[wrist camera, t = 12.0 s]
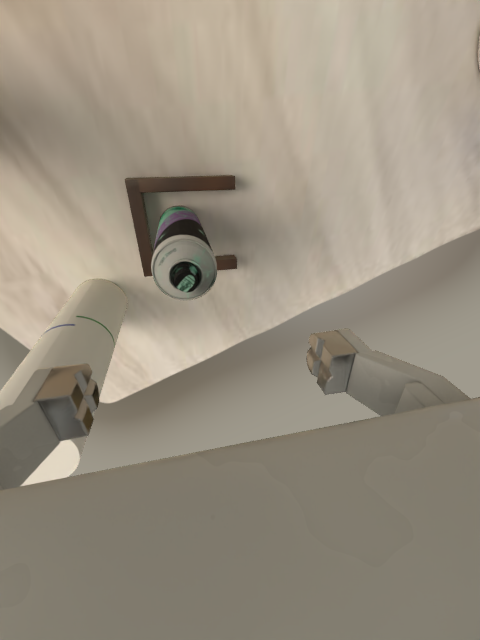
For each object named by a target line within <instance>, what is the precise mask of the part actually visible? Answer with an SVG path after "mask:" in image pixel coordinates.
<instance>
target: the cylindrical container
mask: <svg viewBox="0 0 480 640" xmlns="http://www.w3.org/2000/svg"><path fill="white" fill-rule="evenodd" d="M126 309H127V298H126V296H125V294H124V292H123V291H122V290H121V289H120V288H119V287H118V286H117V285H116V284H114V283H112V282H110V281H107V280H103V279H92V280H88V281H85V282H83V283H82V284H80V285H79V286H78V287H77V289H76V290H75V292H74V293H73V294H72V296H71V297H70V298H69V300H68V301H67V302H66V304H65V305H64V306H63V308H62V309H61V310H60V312H59V313H58V314H57V316H56V317H55V318H54V320H53V321H52V322H51V324H50V325H49V326H48V328H47V329H46V331H45V332H44V333H43V335H42V336H41V337H40V339H39V340H38V341H37V343H36V344H35V345H34V347H33V348H32V349H31V351H30V352H29V353H28V355H27V356H26V357H25V359H24V360H23V362H22V363H21V364H20V366H19V367H18V368H17V370H16V371H15V372H14V374H13V375H12V376H11V378H10V379H9V380H8V382H7V383H6V384H5V386H4V387H3V388H2V390H1V391H0V410H1V409H3V408H4V407H6V406H8V405H13V403H14V402H15V400H16V399H17V397H18V396H19V394H20V393H21V391H22V390H23V388H24V387H25V385H26V384H27V382H28V381H29V379H30V378H31V376H32V375H33V373H34V372H35V371H36V370H38V369H41V368H49V367H56V366H65V365H74V364H83V363H87V364H89V365H90V368H91V370H92V375H91V379H92V380H94V381H96V383H97V385H98V389H99V396H100V393H101V390H102V387H103V383H104V380H105V377H106V374H107V371H108V367H109V364H110V361H111V358H112V354H113V351H114V348H115V345H116V341H117V338H118V335H119V332H120V328H121V325H122V322H123V319H124V316H125V312H126ZM94 412H95V411H94ZM94 412H93V413H92V416H94ZM86 438H87V436H84V437H79V438H74V439H69V440H64V441H60V444H59V445H58V446H57V447H56V448H55V449H54V450H53V451H52V452H51V453H50V455H49V456H48V457H47V458H46V459H45V460H44V461H43V462H42V463H41V464H40V465H39V466H38V468H37V469H36V470H35V471H34V472H33V473H32V474H31V475H30V476H29V477H28V478H27V480H26V481H25V482H24V483H23V484H22V485H21V486H25V485H30V484H35V483H40V482H45V481H50V480H55V479H61V478H66V477H68V476H69V475H70V474H72V473H73V472H74V470H75V469H76V468H77V466H78V463H79V461H80V458H81V454H82V451H83V448H84V445H85V442H86Z"/></svg>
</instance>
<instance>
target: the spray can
mask: <svg viewBox="0 0 480 640" xmlns="http://www.w3.org/2000/svg"><path fill="white" fill-rule="evenodd" d="M151 270H152V275H153V278H154V281H155V283H156V285H157V287H158V288H159V289H160V290H161V291H162V292H163V293H164V294H166V295H167V296H169V297H171V298H174V299H177V300H193V299H197V298H199V297H201V296H203V295H204V294H206V293H207V292H208V291H209V290H210V289H211V287H212V286H213V284H214V282H215V280H216V276H217V263H216V258H215V256H214V253H213V251H212V249H211V247H210V244H209V242H208V240H207V237H206V235H205V233H204V231H203V228H202V226H201V224H200V222H199V219H198V217H197V216H196V214H195V213H194V212H193V211H191V210H190V209H188V208H186V207H183V206H174V207H171V208H169V209H167V210H166V211H165V212H164V213H163V215H162V216H161V218H160V221H159V226H158V231H157V236H156V241H155V246H154V251H153V256H152V262H151Z"/></svg>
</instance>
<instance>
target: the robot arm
mask: <svg viewBox="0 0 480 640" xmlns="http://www.w3.org/2000/svg"><path fill="white" fill-rule="evenodd" d="M478 63H479V69H480V38H479V46H478ZM309 344H310V345H311V348H310V349H309V350H308V352H307V365H308V368H309V370H310V372H311V374H312V375H314V376H316V377H318V380H317V383H318V385H319V386H320V388H321V389H322V391H323V392H324V394H325V395H327V394H334V393H341V392H346V393H347V394H349V395H350V396H352V397H353V398H355V399H356V400H358V401H359V402H361V403H363V404H364V405H365V406H367V407H368V408H370V409H371V410H373V411H374V412H376V413H377V414H379V415H380V417H375V418H370V419H365V420H360V421H354V422H350V423H344V424H339V425H334V426H329V427H324V428H319V429H314V430H308V431H303V432H298V433H293V434H288V435H282V436H277V437H272V438H266V439H261V440H257V441H251V442H246V443H241V444H236V445H230V446H225V447H220V448H215V449H210V450H205V451H200V452H195V453H189V454H184V455H179V456H175V457H169V458H164V459H159V460H153V461H148V462H143V463H138V464H133V465H128V466H122V467H117V468H112V469H107V470H102V471H97V472H92V473H87V474H81V475H76V476H71V477H66V478H61V479H55V480H50V481H45V482H40V483H35V484H30V485H25V486H21V485H22V484H23V483H24V482H25V481H26V480H27V478H28V477H29V476H30V475H31V474H32V473H33V472H34V471H35V470H36V469H37V468H38V466H39V465H40V464H41V463H42V462H43V461H44V460H45V459H46V458H47V457H48V456H49V455H50V453H51V452H52V451H53V450H54V449H55V448H56V447H57V446H58V445H59V444H60V441H64V440H69V439H74V438H79V437H84V436H88V435H89V432H90V429H91V426H92V423H93V416H92V413H93V412H94V411H95V410H96V409H97V407H98V403H99V389H98V385H97V383H96V381H94V380H92V379H91V375H92V370H91V368H90V365H89V364H87V363H83V364H74V365H65V366H56V367H49V368H41V369H38V370H36V371H35V372H34V373H33V375H32V376H31V378H30V379H29V381H28V382H27V384H26V385H25V387H24V388H23V390H22V391H21V393H20V394H19V396H18V397H17V399H16V400H15V402H14V403H13V405H8V406H6V407H4V408H3V409H1V410H0V640H480V397H478V398H473V399H470V398H469V397H468V396H467V395H465V394H464V393H463V392H462V391H460V390H459V389H458V388H457V387H455V386H454V385H453V384H452V383H451V382H449V381H448V380H447V379H446V378H445V377H443V376H441V375H438V374H435V373H433V372H430V371H428V370H425V369H423V368H420V367H417V366H415V365H412V364H410V363H407V362H404V361H402V360H399V359H397V358H394V357H392V356H389V355H386V354H383V353H381V352H379V351H372V350H371V349H370V348H369V347H368V346H367V345H365V344H364V342H362V341H361V340H360V339H359V338H358V337H357V336H356V335H355V334H354V333H353V332H352V331H351V330H350V329H348V328H344V329H338V330H334V331H326V332H319V333H313V334H311V335H310V337H309Z"/></svg>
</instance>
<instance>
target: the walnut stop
mask: <svg viewBox="0 0 480 640" xmlns="http://www.w3.org/2000/svg"><path fill="white" fill-rule="evenodd" d="M125 183H126V188H127V193H128V198H129V203H130V208H131V213H132V217H133V222H134V227H135V232H136V237H137V242H138V247H139V252H140V257H141V262H142V267H143V272H144V276H145V277H146V276H153V275H152V270H151V262H152V256H153V249H152V244H151V238H150V232H149V227H148V221H147V215H146V210H145V204H144V199H143V193H146V192H174V191H202V190H230V189H235V176H233V175H221V176H184V177H146V178H126V179H125ZM215 258H216V263H217V270H227V269H237V259H236V257H235V256H234V255H224V256H215Z"/></svg>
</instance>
